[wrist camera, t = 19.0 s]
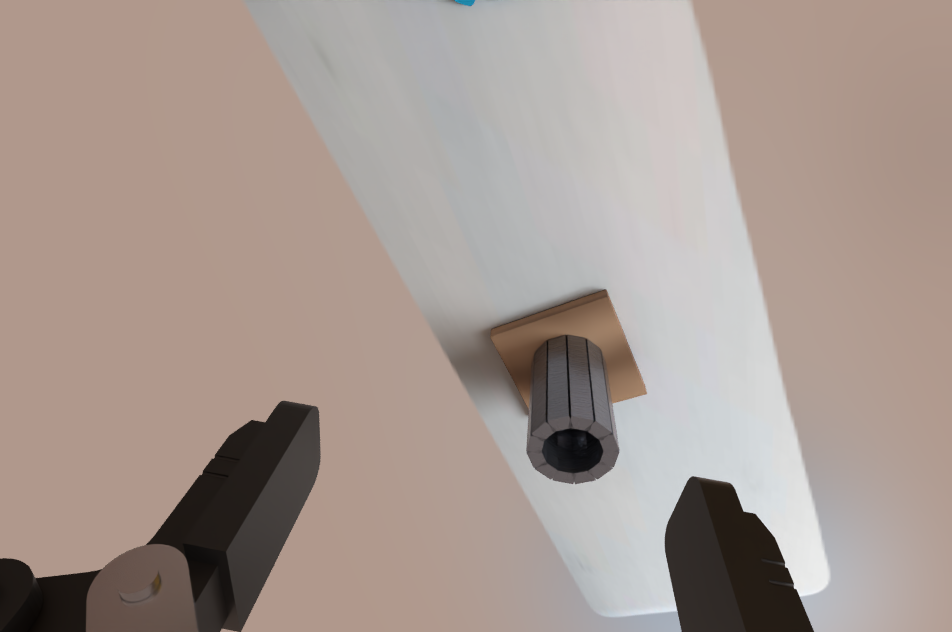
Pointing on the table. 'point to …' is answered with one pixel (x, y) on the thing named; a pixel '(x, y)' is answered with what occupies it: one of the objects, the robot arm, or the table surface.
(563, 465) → the sleeve
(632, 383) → the base plate
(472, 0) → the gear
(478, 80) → the table surface
